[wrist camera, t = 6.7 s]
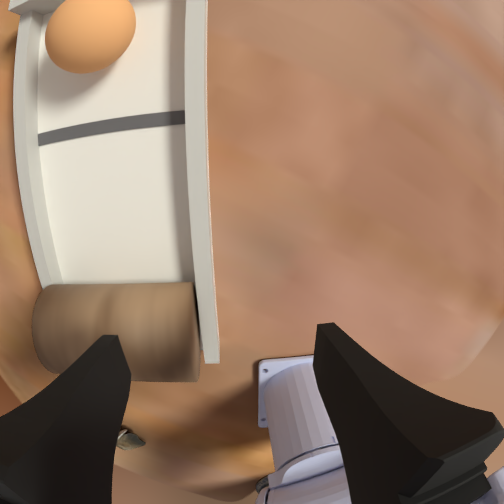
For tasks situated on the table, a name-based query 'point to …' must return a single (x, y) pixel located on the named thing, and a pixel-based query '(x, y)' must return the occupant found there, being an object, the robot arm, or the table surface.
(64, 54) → the ball
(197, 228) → the lane
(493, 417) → the robot arm
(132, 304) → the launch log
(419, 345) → the table surface
